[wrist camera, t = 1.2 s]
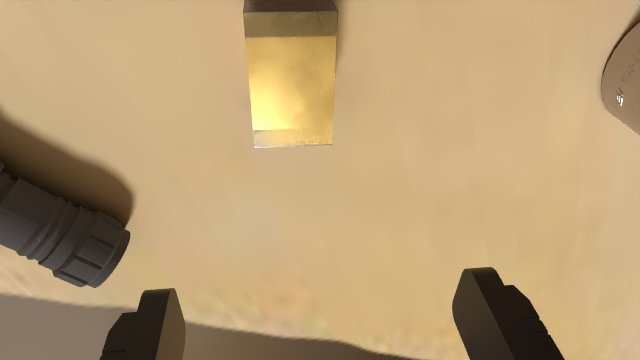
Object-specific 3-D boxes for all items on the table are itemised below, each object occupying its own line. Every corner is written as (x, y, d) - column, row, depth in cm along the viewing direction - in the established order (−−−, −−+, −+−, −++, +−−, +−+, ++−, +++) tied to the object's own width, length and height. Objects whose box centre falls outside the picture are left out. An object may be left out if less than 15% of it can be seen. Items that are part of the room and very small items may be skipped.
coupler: (245, -12, 24) (243, 12, 20) (326, -13, 24) (337, 11, 20) (255, 110, 28) (254, 147, 25) (322, 108, 29) (331, 144, 25)
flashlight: (144, 216, 33) (127, 271, 29) (105, 253, 35) (83, 309, 31) (-86, 88, 25) (-156, 137, 21) (-120, 144, 27) (-191, 199, 23)
